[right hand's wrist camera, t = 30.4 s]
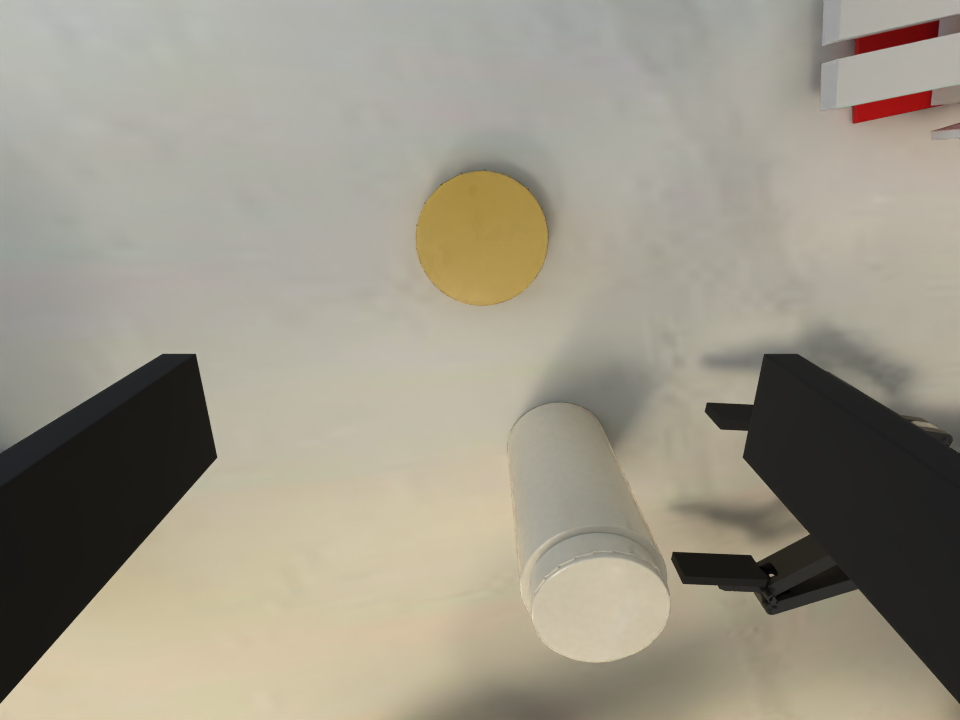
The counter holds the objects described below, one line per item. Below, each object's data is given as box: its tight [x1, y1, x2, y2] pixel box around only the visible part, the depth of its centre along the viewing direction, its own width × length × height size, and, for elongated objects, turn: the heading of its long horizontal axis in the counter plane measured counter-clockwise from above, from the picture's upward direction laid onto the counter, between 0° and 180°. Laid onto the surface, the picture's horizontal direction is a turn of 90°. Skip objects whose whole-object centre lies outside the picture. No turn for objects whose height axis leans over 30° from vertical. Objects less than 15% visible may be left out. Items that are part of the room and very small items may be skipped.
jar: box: [507, 402, 670, 663], centre depth 37 cm, size 9×9×18 cm
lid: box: [416, 170, 548, 305], centre depth 38 cm, size 9×10×2 cm
